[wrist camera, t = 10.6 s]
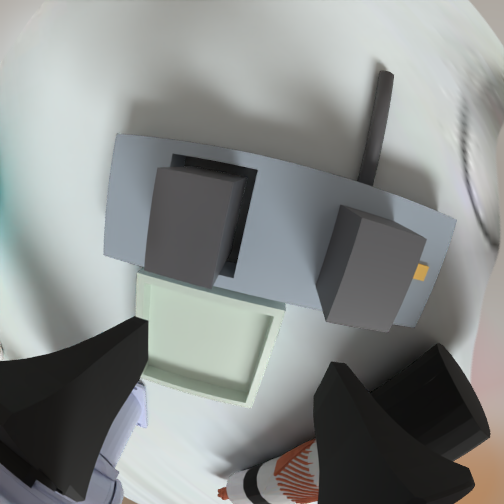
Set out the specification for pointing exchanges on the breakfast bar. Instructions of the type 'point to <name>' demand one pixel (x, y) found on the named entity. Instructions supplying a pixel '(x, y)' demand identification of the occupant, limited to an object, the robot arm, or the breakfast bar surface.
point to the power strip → (301, 229)
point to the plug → (192, 223)
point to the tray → (206, 338)
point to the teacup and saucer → (1, 353)
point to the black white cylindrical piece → (401, 411)
